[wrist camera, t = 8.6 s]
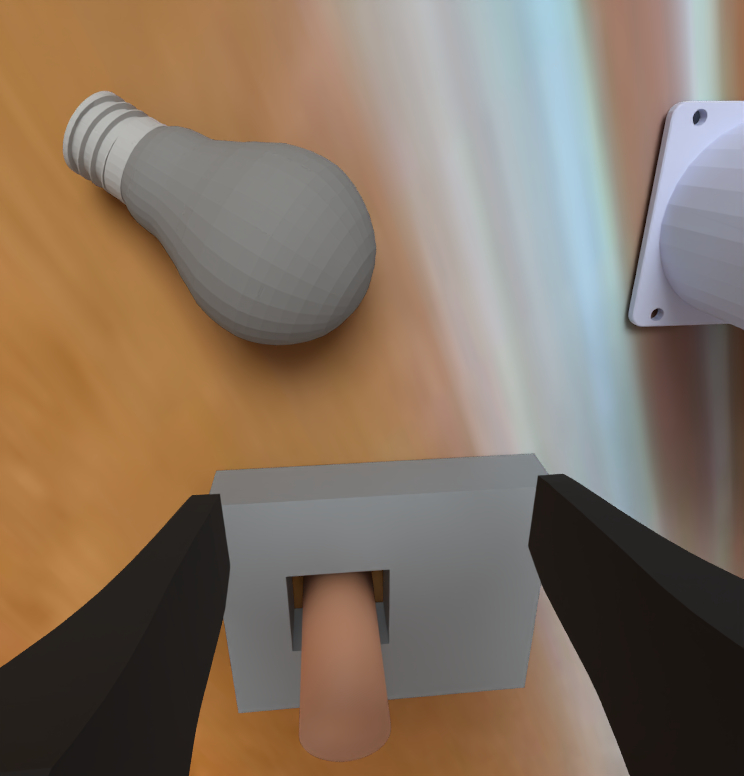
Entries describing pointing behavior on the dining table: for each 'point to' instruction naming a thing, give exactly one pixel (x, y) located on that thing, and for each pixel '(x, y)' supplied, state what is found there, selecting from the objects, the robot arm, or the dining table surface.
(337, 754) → the peg
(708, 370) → the dining table surface
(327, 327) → the light bulb
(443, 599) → the socket board
